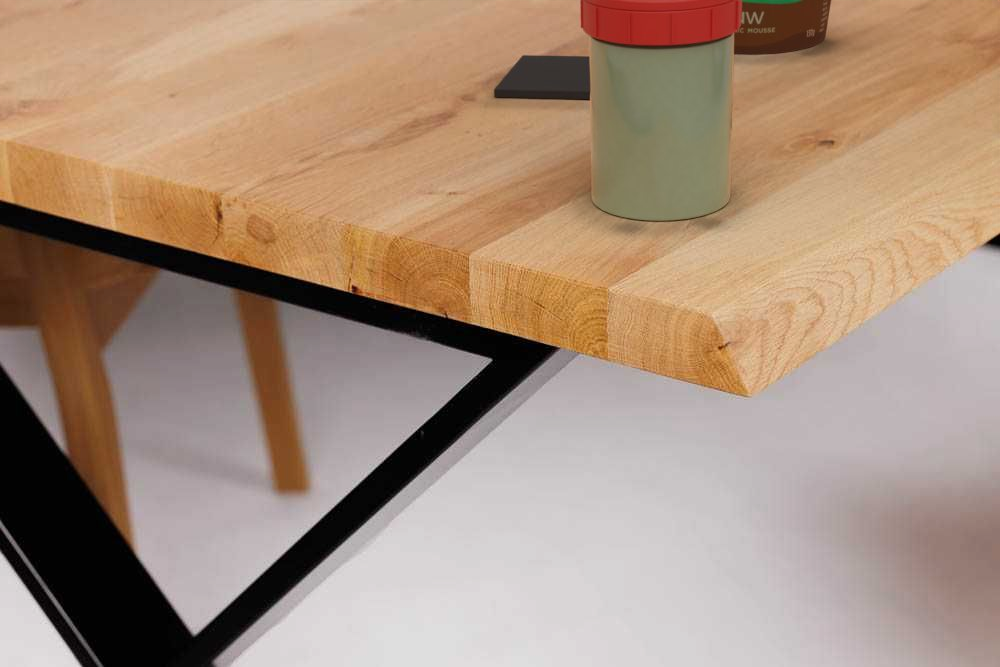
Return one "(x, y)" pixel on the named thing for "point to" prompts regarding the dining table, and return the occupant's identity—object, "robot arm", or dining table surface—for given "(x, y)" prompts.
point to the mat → (547, 78)
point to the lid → (660, 20)
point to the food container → (781, 25)
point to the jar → (661, 128)
